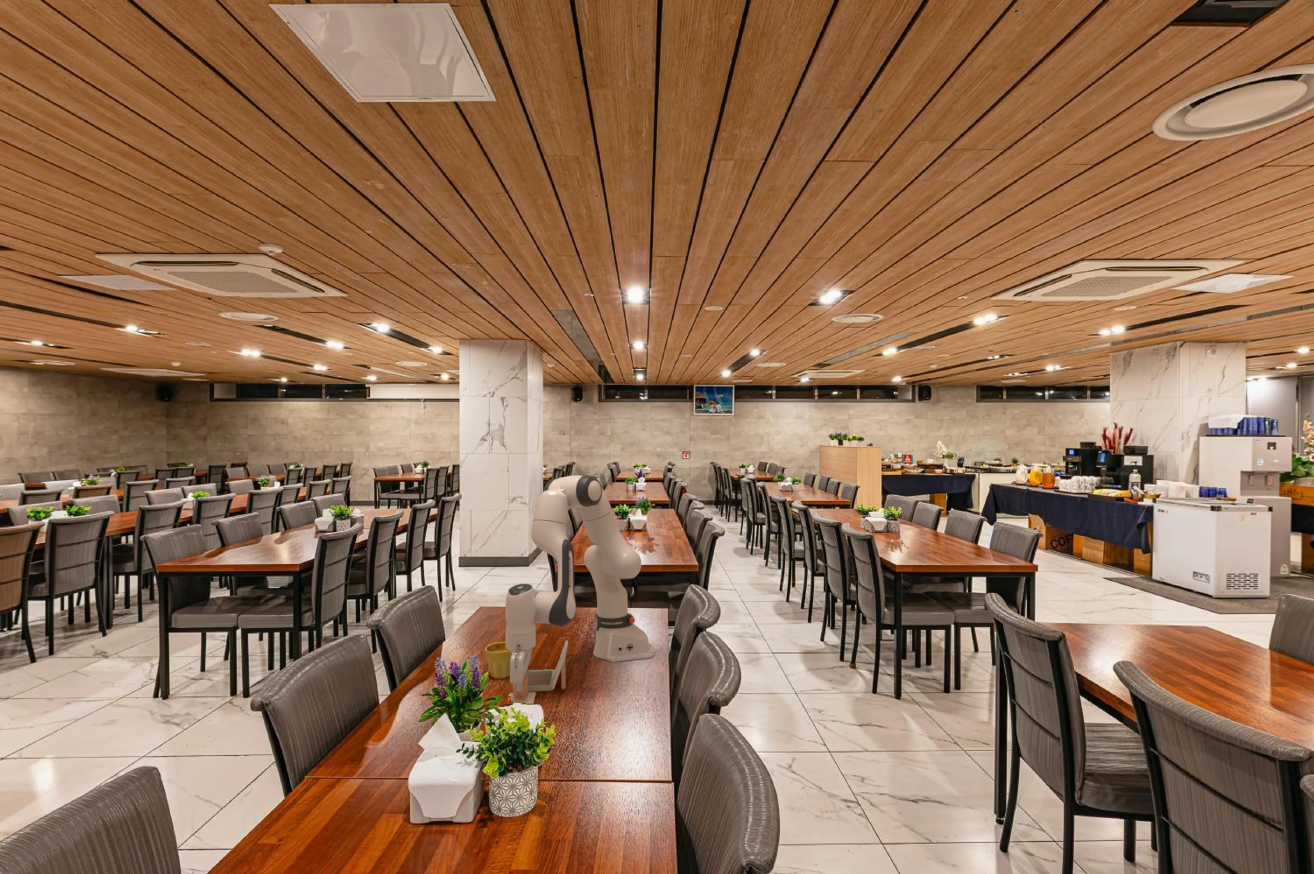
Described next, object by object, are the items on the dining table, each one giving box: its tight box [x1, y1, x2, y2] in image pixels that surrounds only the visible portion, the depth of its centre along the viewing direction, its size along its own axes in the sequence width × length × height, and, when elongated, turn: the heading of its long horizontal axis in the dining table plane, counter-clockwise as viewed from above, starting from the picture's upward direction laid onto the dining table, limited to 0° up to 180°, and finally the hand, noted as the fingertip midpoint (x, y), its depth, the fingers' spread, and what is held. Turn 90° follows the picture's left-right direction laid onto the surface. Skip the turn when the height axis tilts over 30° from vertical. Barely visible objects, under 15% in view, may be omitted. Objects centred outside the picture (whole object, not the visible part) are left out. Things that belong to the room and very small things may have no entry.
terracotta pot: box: [512, 668, 530, 698], centre depth 181 cm, size 5×5×7 cm
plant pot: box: [484, 641, 512, 680], centre depth 201 cm, size 10×10×10 cm
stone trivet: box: [507, 691, 537, 705], centre depth 181 cm, size 8×8×1 cm
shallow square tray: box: [528, 668, 556, 692], centre depth 194 cm, size 12×14×2 cm
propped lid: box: [552, 640, 569, 690], centre depth 194 cm, size 4×14×12 cm, turn 5°
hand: (521, 686), depth 181 cm, fingers closed on terracotta pot, 4 cm apart
